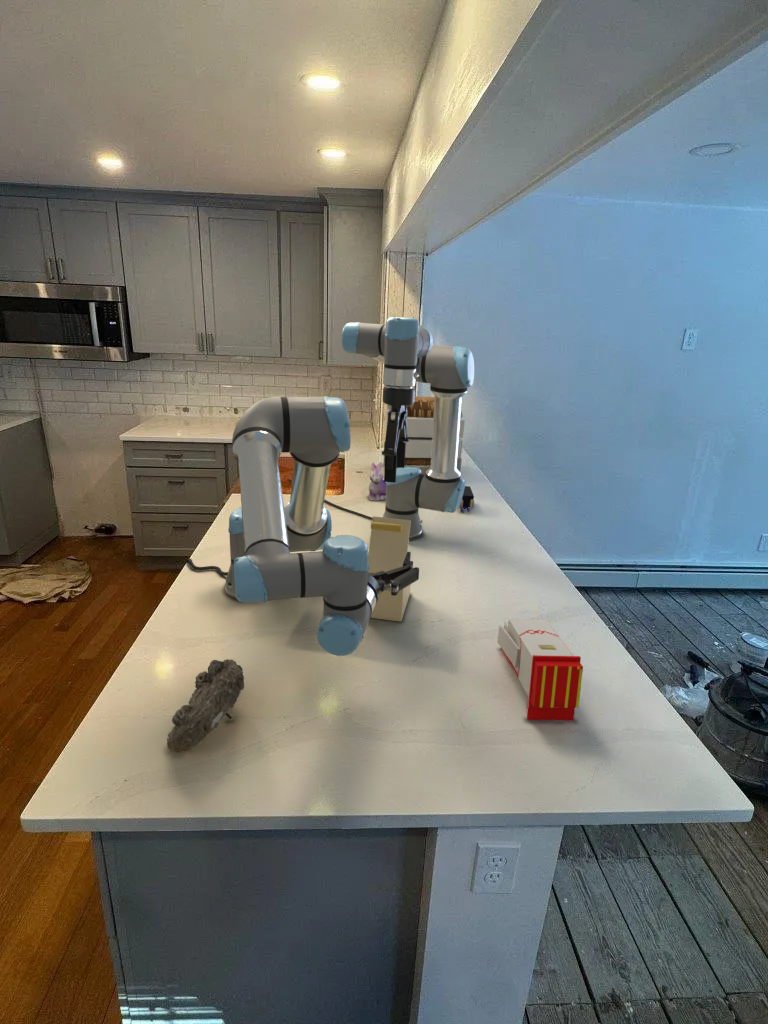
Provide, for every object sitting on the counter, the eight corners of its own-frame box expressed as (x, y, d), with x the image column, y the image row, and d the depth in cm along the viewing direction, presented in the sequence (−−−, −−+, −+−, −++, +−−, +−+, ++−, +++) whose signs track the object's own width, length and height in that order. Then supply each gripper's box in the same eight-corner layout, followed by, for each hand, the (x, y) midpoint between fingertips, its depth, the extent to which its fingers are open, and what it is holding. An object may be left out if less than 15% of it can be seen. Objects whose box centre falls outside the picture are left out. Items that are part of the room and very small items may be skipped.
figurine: (373, 502, 230) (374, 466, 225) (362, 495, 239) (363, 460, 234) (393, 500, 234) (395, 464, 229) (382, 492, 243) (383, 458, 238)
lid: (373, 516, 144) (367, 513, 135) (410, 520, 142) (407, 517, 133) (366, 580, 142) (359, 581, 134) (403, 584, 141) (399, 586, 132)
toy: (543, 604, 136) (592, 662, 106) (538, 656, 138) (584, 727, 109) (493, 603, 135) (528, 661, 106) (489, 655, 138) (522, 726, 109)
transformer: (382, 463, 289) (386, 382, 275) (445, 464, 293) (451, 384, 279) (390, 482, 257) (394, 392, 243) (460, 483, 261) (468, 394, 247)
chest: (376, 589, 160) (377, 557, 156) (409, 594, 158) (411, 561, 155) (364, 616, 145) (365, 582, 142) (401, 621, 144) (403, 586, 141)
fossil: (192, 660, 117) (244, 628, 112) (224, 691, 120) (276, 661, 115) (142, 746, 98) (202, 712, 93) (182, 779, 101) (242, 748, 96)
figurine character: (474, 517, 223) (468, 500, 237) (476, 499, 220) (470, 484, 233) (457, 516, 223) (452, 500, 236) (459, 499, 220) (454, 483, 233)
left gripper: (295, 606, 112) (325, 562, 131) (420, 623, 108) (432, 575, 127) (294, 572, 109) (325, 532, 129) (423, 588, 105) (435, 544, 125)
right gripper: (407, 395, 120) (401, 490, 128) (421, 381, 144) (416, 463, 151) (372, 392, 122) (369, 487, 129) (392, 379, 145) (388, 460, 152)
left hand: (379, 553), depth 128 cm, fingers open, 13 cm apart
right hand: (394, 474), depth 140 cm, fingers open, 13 cm apart
